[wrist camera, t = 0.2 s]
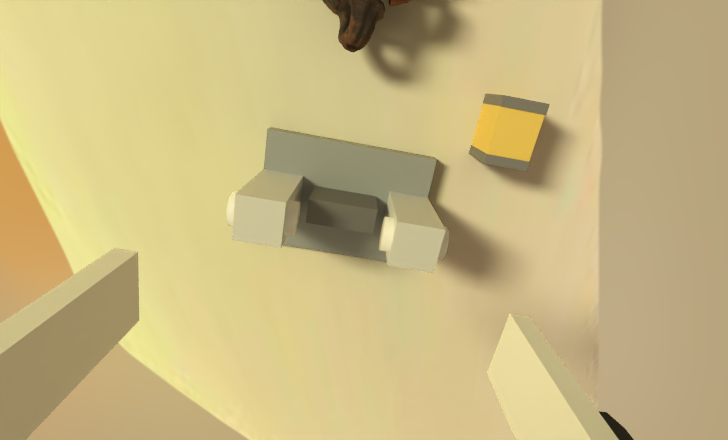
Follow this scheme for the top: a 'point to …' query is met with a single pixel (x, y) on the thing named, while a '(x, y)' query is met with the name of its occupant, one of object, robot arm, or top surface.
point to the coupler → (507, 131)
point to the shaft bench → (346, 177)
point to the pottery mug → (358, 20)
